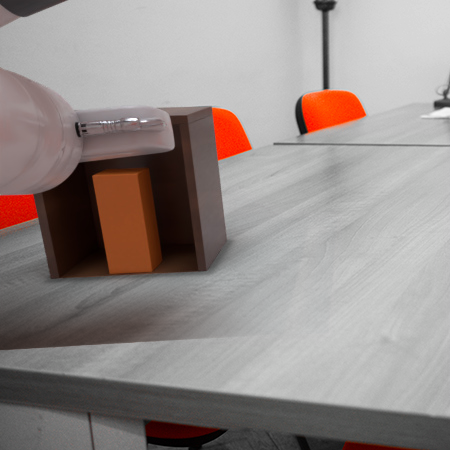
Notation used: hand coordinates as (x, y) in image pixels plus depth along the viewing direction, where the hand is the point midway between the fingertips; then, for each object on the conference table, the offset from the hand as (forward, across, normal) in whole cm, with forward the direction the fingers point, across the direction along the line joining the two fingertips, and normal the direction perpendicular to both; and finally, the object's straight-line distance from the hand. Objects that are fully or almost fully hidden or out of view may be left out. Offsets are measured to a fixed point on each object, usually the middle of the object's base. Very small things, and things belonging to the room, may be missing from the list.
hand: (75, 148), depth 56 cm
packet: (+13, 0, +14) cm, 19 cm away
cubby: (+17, -1, +14) cm, 22 cm away
